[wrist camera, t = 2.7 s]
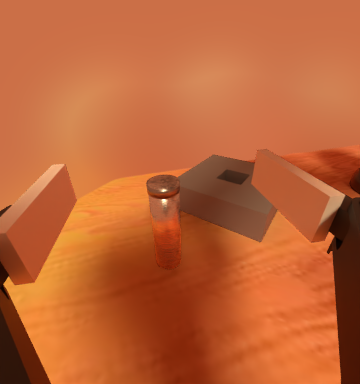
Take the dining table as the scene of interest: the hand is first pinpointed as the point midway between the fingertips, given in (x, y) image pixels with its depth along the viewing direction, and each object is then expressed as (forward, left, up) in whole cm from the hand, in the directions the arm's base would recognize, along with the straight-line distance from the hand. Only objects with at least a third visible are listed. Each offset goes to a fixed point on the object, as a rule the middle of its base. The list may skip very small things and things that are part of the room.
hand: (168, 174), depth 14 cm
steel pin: (-7, -7, -20) cm, 22 cm away
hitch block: (-29, -6, -20) cm, 36 cm away
